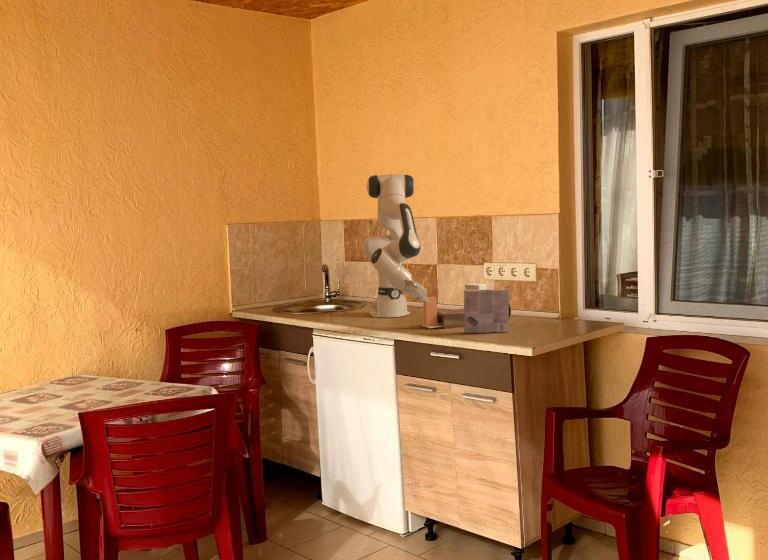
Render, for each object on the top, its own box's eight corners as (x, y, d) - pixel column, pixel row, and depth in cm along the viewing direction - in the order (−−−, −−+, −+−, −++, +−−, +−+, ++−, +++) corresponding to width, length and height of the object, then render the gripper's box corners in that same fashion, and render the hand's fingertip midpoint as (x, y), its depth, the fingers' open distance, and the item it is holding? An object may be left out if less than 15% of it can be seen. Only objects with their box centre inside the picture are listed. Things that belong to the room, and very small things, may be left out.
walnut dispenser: (432, 325, 360) (431, 309, 359) (469, 321, 366) (468, 306, 366) (444, 328, 348) (443, 313, 348) (482, 324, 355) (481, 309, 354)
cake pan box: (511, 330, 337) (509, 287, 335) (512, 332, 332) (511, 288, 330) (464, 332, 338) (462, 289, 336) (465, 334, 333) (463, 291, 331)
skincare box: (464, 318, 378) (463, 284, 376) (473, 316, 383) (472, 282, 381) (479, 319, 372) (478, 285, 371) (488, 317, 377) (487, 283, 375)
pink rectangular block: (422, 326, 356) (421, 297, 355) (465, 321, 363) (464, 293, 362) (429, 328, 349) (428, 298, 347) (473, 323, 356) (472, 294, 355)
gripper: (415, 275, 338) (438, 297, 342) (397, 272, 357) (419, 292, 361) (406, 287, 336) (429, 308, 341) (388, 283, 356) (410, 303, 360)
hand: (424, 300), depth 351 cm, fingers open, 8 cm apart
